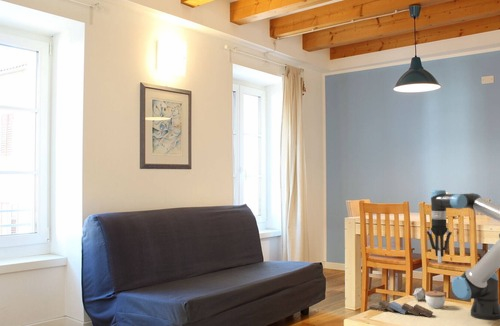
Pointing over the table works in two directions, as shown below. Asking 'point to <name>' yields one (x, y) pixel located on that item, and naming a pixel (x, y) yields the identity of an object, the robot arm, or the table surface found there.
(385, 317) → the table surface
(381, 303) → the domino
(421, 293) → the game die
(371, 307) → the domino
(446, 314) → the table surface
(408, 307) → the domino
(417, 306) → the domino
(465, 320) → the table surface
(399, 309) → the domino
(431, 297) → the lidded jar
